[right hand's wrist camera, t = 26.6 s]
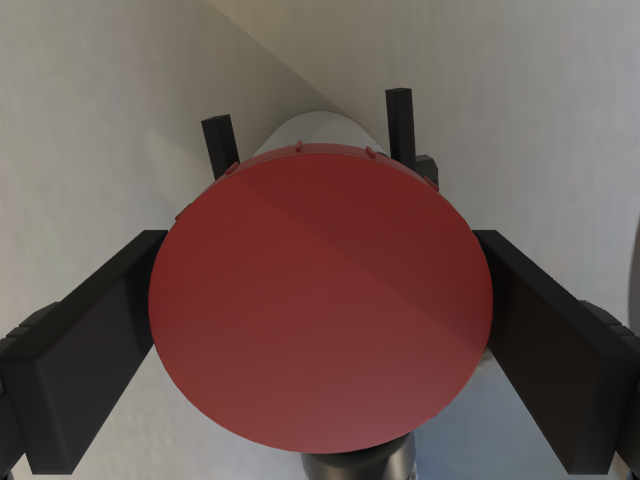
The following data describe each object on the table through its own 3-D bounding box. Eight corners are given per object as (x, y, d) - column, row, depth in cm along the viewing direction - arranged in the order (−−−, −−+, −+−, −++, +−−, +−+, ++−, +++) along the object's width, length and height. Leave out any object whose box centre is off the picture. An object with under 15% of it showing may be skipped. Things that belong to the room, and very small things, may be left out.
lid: (503, 156, 11) (534, 169, 9) (441, 419, 14) (456, 462, 12) (160, 128, 10) (132, 137, 9) (176, 403, 13) (158, 445, 12)
